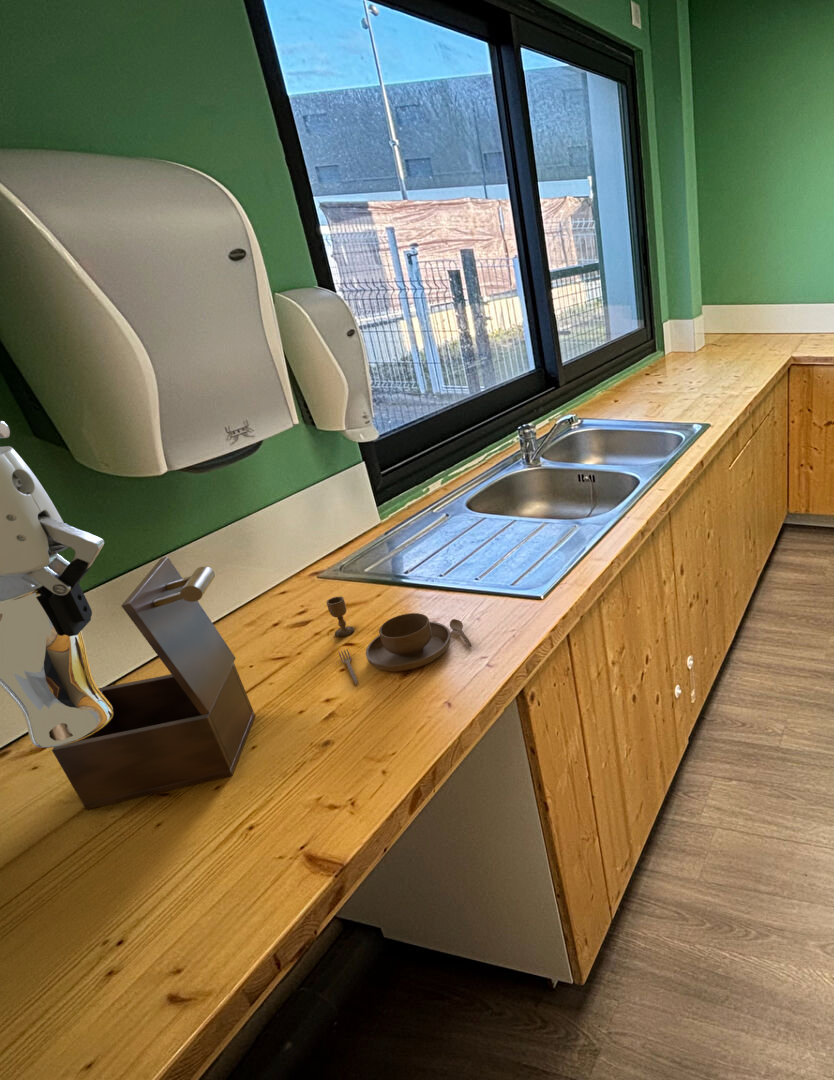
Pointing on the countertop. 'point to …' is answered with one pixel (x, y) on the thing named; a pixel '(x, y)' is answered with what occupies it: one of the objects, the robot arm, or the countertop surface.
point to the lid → (182, 630)
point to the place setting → (399, 640)
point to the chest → (158, 741)
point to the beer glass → (46, 667)
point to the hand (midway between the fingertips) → (26, 635)
